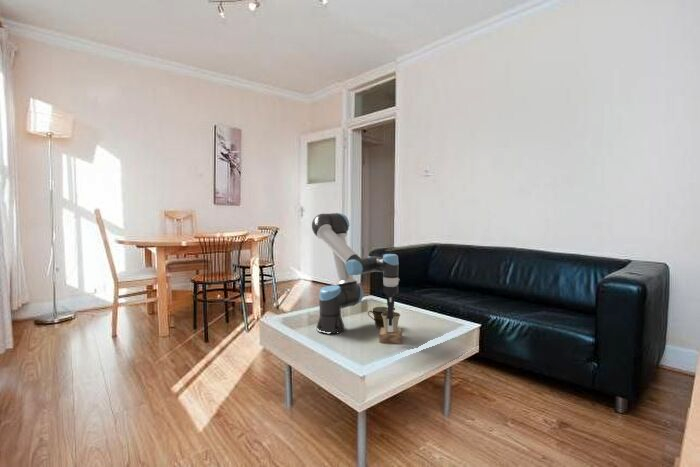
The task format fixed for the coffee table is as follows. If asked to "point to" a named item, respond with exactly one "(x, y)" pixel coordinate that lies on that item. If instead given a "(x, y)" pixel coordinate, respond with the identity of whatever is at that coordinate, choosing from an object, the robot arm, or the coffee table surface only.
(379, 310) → the ceramic cup
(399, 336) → the stand
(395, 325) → the flower pot
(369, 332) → the coffee table surface
